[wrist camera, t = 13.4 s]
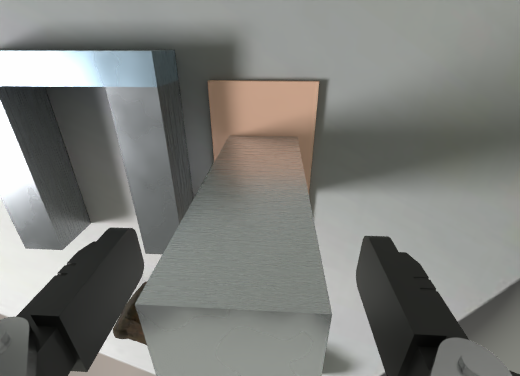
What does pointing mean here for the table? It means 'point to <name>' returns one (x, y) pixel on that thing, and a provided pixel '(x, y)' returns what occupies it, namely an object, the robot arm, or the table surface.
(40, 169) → the vise
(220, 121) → the mat
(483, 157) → the table surface
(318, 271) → the steel bar
